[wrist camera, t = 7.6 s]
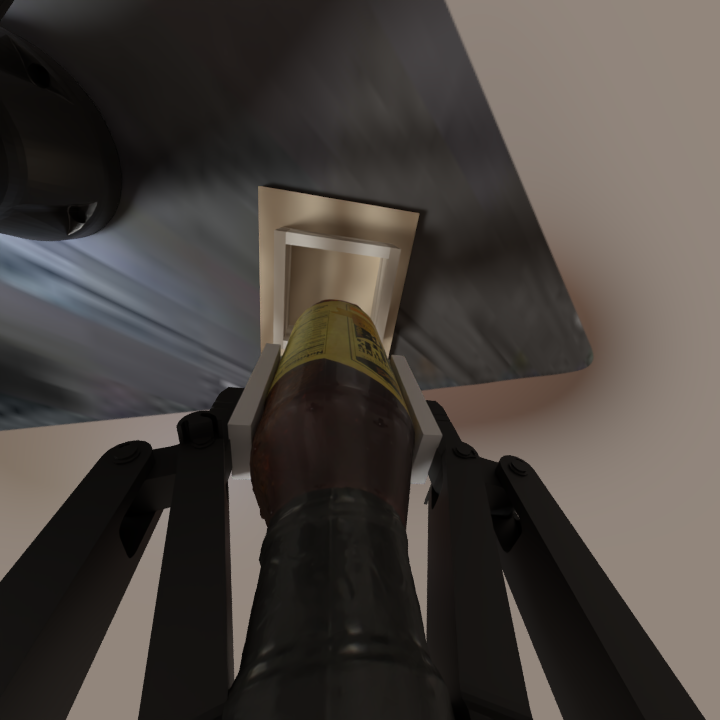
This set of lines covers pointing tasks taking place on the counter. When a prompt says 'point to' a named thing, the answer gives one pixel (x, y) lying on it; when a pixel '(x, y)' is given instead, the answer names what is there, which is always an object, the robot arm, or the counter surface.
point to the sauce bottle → (335, 538)
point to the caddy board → (329, 259)
